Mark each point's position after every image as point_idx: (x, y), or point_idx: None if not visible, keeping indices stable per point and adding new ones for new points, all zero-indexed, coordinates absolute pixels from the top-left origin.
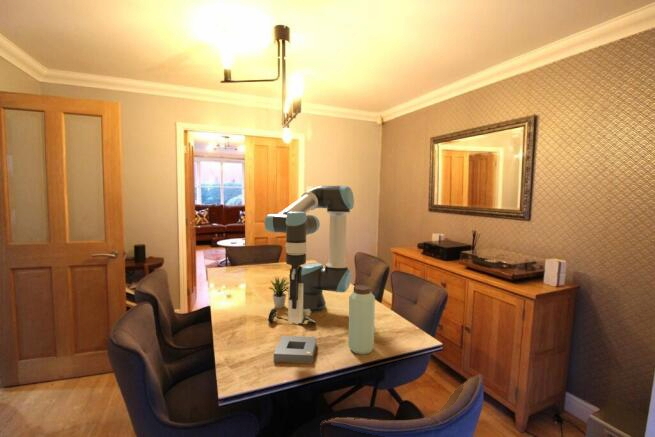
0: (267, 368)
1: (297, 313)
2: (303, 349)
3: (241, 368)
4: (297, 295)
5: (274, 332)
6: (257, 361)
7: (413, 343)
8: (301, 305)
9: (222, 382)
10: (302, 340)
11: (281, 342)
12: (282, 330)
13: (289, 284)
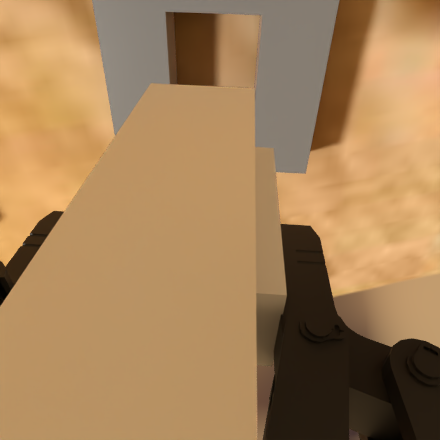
0: (353, 168)
1: (275, 174)
2: (267, 15)
3: (339, 249)
4: (336, 391)
5: (39, 194)
6: (295, 212)
7: None
8: (253, 184)
9: (413, 277)
10: (149, 38)
11: None
12: (4, 163)
13: None
